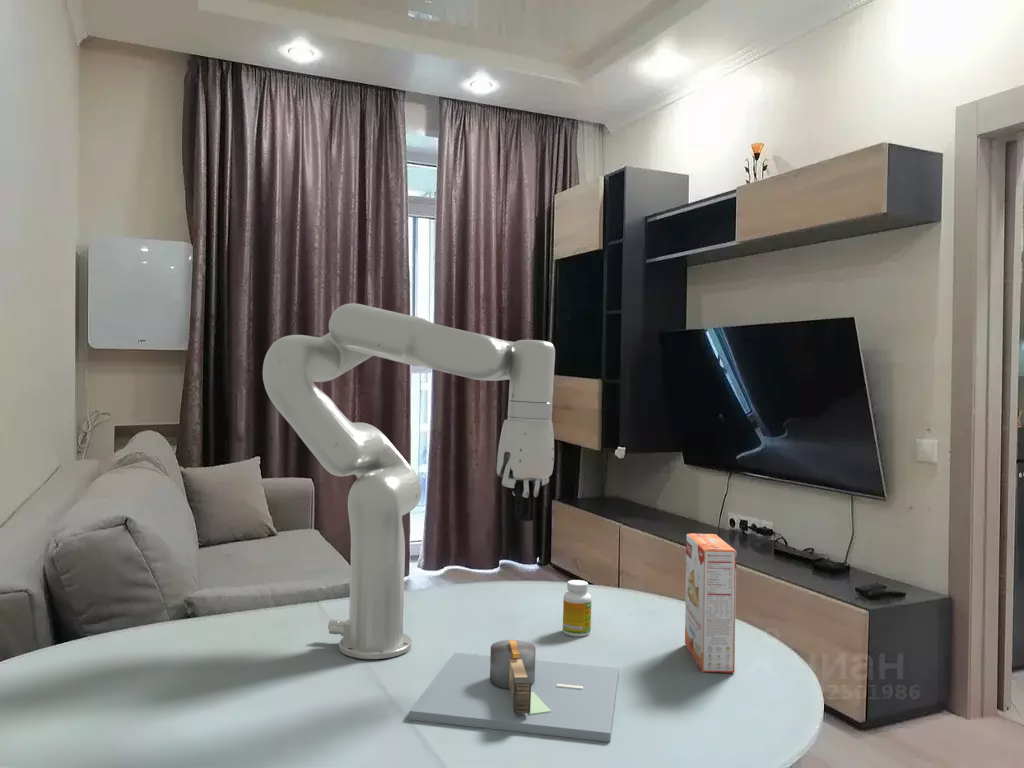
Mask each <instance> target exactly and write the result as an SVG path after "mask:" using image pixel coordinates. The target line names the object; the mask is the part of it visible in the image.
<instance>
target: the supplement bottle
mask: <svg viewBox="0 0 1024 768" xmlns="http://www.w3.org/2000/svg"><path fill="white" fill-rule="evenodd" d="M566 588H567V590H568V591H567V592H565V593H564V595H563V601H562V602H563V609H562V633H564V634H565V635H566V636H569V637H570V636H571V637H574V638H575V637H578V638H579V637H582V638H583V637H586V636H589V635H591V630H592V629H591V628H592V627H591V626H592V625H591V624H592V595H591V594H590V593H588V591H589V583H588V581H585V580H581V579H571V580H568V581H567V587H566Z"/></svg>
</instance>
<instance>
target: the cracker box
mask: <svg viewBox="0 0 1024 768" xmlns="http://www.w3.org/2000/svg"><path fill="white" fill-rule="evenodd" d="M685 545H686V547H685V548H686V549H685V569H686V570H685V613H684V614H685V616H684V620H685V621H684V644H685V646H686V648H687V649H688V651H689V652H690V654H691V656H692V658H693V659H694V661H695V662H696V665H697V666H698V668H699V669H700V672H702V673H722V674H723V673H725V674H726V673H729V674H730V673H732V674H734V673H735V668H736V667H735V661H736V660H735V658H736V656H735V655H736V654H735V653H736V605H737V604H736V603H737V601H736V599H737V598H736V595H737V594H736V593H737V557H738V556H737V550H735V548H734V547H732V546H731V545H730V544H728V543H727V542H726V541H725V540H723V539H722V538H721V537H720V536H718V535H717V533H716V534H715V533H698V532H697V533H694V532H693V533H687V534H686V544H685Z"/></svg>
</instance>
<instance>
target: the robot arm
mask: <svg viewBox="0 0 1024 768" xmlns="http://www.w3.org/2000/svg"><path fill="white" fill-rule="evenodd" d="M328 330H329V332H328V333H326V334H325V335H322V336H321V337H318V336H317V337H316V336H312V335H304V334H291V335H285V336H283V337H281V338H279V339H277V340H276V341H274V342H273V343H272V344H271V345H270V347H269V348H268V350H267V352H266V354H265V357H264V358H263V359H264V360H263V365H262V381H263V385H264V388H265V391H266V393H267V396H268V397H269V400H270V401H271V402H272V405H273V406H274V407H275V408H276V409H277V411H278V413H280V415H281V416H282V417H283V418H284V419H285V420H286V422H287V423H288V424H289V425H290V426H291V427H292V429H293V430H294V431H295V433H296V434H297V436H298V437H299V438H300V439H301V441H302V442H303V443H304V444H305V446H306V447H307V448H308V450H309V451H310V452H311V453H312V454H313V456H314V457H315V458H316V460H317V461H318V462H319V464H320V465H321V466H322V467H323V468H324V469H325V470H326V471H327V472H328V473H329V474H331V475H333V476H336V477H348V476H352V475H353V476H354V475H355V476H356V478H357V479H356V480H355V481H354V482H353V484H352V485H351V488H350V490H349V493H348V496H347V511H348V520H349V529H350V530H349V531H350V576H349V577H350V578H349V605H348V606H349V608H348V609H349V612H348V613H349V614H348V615H349V617H348V619H346V620H341V619H332V618H331V619H330V620H329V622H328V625H327V629H328V633H329V635H341V637H342V638H341V640H340V641H339V651H340V652H341V653H342V654H344V655H345V656H348V657H351V658H355V659H360V660H361V659H362V660H380V659H381V660H383V659H390V658H394V657H398V656H401V655H403V654H406V653H407V652H408V651H409V650H410V649H411V648H412V639H411V637H410V636H409V635H407V634H405V633H404V608H405V607H404V604H405V602H404V599H405V569H406V568H405V565H406V564H405V563H406V561H405V559H406V557H405V556H406V539H405V531H404V530H405V529H404V525H403V517H404V516H405V515H407V514H408V513H410V512H412V511H413V510H415V508H416V507H417V506H418V505H419V502H420V501H421V498H422V490H423V489H422V484H421V480H420V477H419V476H418V474H417V473H416V471H415V470H414V469H413V467H412V466H411V465H410V464H409V463H408V461H407V460H406V459H405V458H404V456H403V455H402V454H401V453H400V451H399V450H397V448H396V447H395V445H393V443H392V442H391V441H390V439H388V437H387V436H386V435H385V434H384V433H383V431H381V430H380V429H378V428H377V427H375V426H374V425H372V424H369V423H366V422H358V421H357V422H352V421H351V420H349V419H348V417H346V416H345V414H343V412H342V411H341V410H340V409H339V408H338V406H337V405H336V404H335V402H334V401H333V400H332V398H330V396H328V395H327V394H326V393H325V392H324V391H322V390H321V388H319V387H318V385H317V384H315V383H324V382H330V381H332V380H334V379H336V378H338V377H340V376H341V375H344V374H345V373H348V372H349V371H350V370H352V369H353V368H355V367H357V366H358V365H360V364H362V363H363V362H365V361H366V360H369V359H370V358H371V357H373V356H374V357H378V358H382V359H386V360H390V361H393V362H398V363H402V364H405V365H410V366H413V367H422V368H425V369H432V370H435V371H438V372H443V373H446V374H450V375H454V376H459V377H464V378H468V379H472V380H476V381H477V380H478V381H485V382H486V381H488V382H489V381H490V382H494V381H495V382H496V381H497V382H498V381H507V380H509V385H508V386H509V388H508V406H507V419H504V421H503V424H502V428H501V432H500V436H499V437H500V438H499V442H498V451H497V459H496V460H497V461H496V475H497V476H498V477H500V478H502V480H501V485H502V486H503V487H506V488H510V489H511V491H512V495H513V496H514V515H513V516H514V519H515V520H518V521H523V522H533V521H534V520H535V509H536V498H537V497H538V496H539V492H540V489H541V488H542V486H544V485H547V484H549V483H550V476H552V474H553V470H554V463H555V438H554V437H555V435H554V425H553V421H552V418H553V415H552V413H553V400H554V399H553V398H554V397H553V396H554V382H555V381H554V380H555V379H554V378H555V362H556V348H555V346H554V344H553V343H552V342H550V341H546V340H539V339H519V340H516V341H510V340H504V339H499V338H497V337H493V336H490V335H486V334H482V333H477V332H472V331H468V330H463V329H458V328H454V327H450V326H446V325H441V324H437V323H434V322H431V321H428V320H427V319H425V318H421V317H419V316H414V315H409V314H404V313H400V312H396V311H391V310H387V309H383V308H380V307H379V308H378V307H374V306H371V305H365V304H361V303H354V302H353V303H351V302H350V303H345V304H343V305H342V304H341V305H340V306H339V307H337V308H336V309H334V311H333V313H332V314H331V316H330V318H329V321H328Z"/></svg>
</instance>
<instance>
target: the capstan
mask: <svg viewBox="0 0 1024 768" xmlns="http://www.w3.org/2000/svg"><path fill="white" fill-rule="evenodd" d="M536 650H537V648H536V646H535V645H534V644H532V643H531V642H528V641H524V640H519V639H518V640H516V639H504V640H498V641H495V642H493V643H492V644H491V645H490V655H489V656H490V681H491V683H493V684H494V685H496V686H499V687H503V688H510V691H511V695H512V699H513V709H514V713H530V705H531V685H532V684H533V683H534V682H535V660H536V653H537V652H536Z"/></svg>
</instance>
